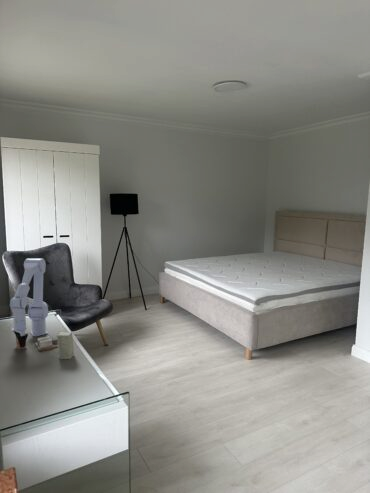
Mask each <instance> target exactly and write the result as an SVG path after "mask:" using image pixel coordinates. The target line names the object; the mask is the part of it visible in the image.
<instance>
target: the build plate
mask: <svg viewBox="0 0 370 493" xmlns="http://www.w3.org/2000/svg"><path fill="white" fill-rule="evenodd" d="M34 345H35V347H36V349H37V351H38V352H43V351H47V350H52V349H56V348H57V349H58V342H57V337H51V336H50V335H47V336H44V337H39V338H37V342H35V343H34Z"/></svg>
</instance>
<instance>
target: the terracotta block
mask: <svg viewBox="0 0 370 493" xmlns="http://www.w3.org/2000/svg"><path fill="white" fill-rule="evenodd" d="M15 340H16V343H15V344H16V348H17V351H18V350H22V349H27V343H26V344H25V347H23V348H20V345H19V341H18V339H17V338H15Z"/></svg>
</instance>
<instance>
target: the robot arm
mask: <svg viewBox="0 0 370 493" xmlns="http://www.w3.org/2000/svg"><path fill="white" fill-rule="evenodd" d="M23 268H24V273H23V276H22V280H21V283H20V284H18V286H17V288H16V291H15V294H14V296H13V297H12V298H11V299H10V301H9V307H10V309H11V312H12V318H13V328H11V331H12V332H13V333H14V334H15V337H16V338H17V339H18V341H19V345H20V348H23V347H25V344H26V345H27V339H28V337H29V334H28V333H26V330H27V322H26V321H27V320H26V307H27V305H28V294H29V292H30V289H31V288H30V284H31V280H32V278H33V295H32V296H33V297H32V298H33V300H32V303H30V304H29V305H28V310H27V317H28V318H29V319H30V320H31V330H30V331H29V332H30V333H31V335H32V337H38V336H39V337H40V336H42V335H48V334H49V332H48V330H47V326H46V324H47V323H46V321H47V320H46V318H47V317H48V316H49V306H48V304H47V303H46V302H44V273H46V268H47V267H46V261H45V259H44V258H42V257H41V258H28V257H27V258H26V259H25V260H24V262H23ZM16 338H15V339H16ZM23 349H24V348H23Z"/></svg>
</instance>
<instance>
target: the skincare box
mask: <svg viewBox="0 0 370 493" xmlns="http://www.w3.org/2000/svg"><path fill="white" fill-rule="evenodd" d="M56 338H57V342H58V347H57V353H58V359H63V360H65V359H66V360H68V359H69V360H71V359H72V358H73V356H74V355H75V352H74V351H75V350H74V338H73V332H72V331H60V332H59V333H58V334H56Z"/></svg>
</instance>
